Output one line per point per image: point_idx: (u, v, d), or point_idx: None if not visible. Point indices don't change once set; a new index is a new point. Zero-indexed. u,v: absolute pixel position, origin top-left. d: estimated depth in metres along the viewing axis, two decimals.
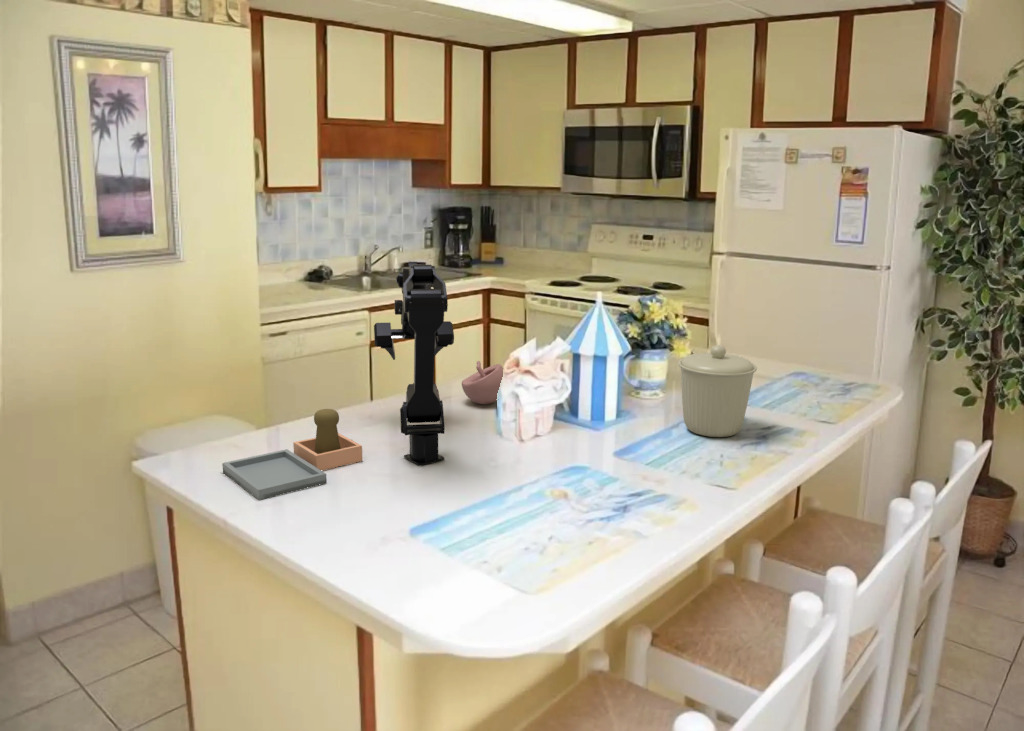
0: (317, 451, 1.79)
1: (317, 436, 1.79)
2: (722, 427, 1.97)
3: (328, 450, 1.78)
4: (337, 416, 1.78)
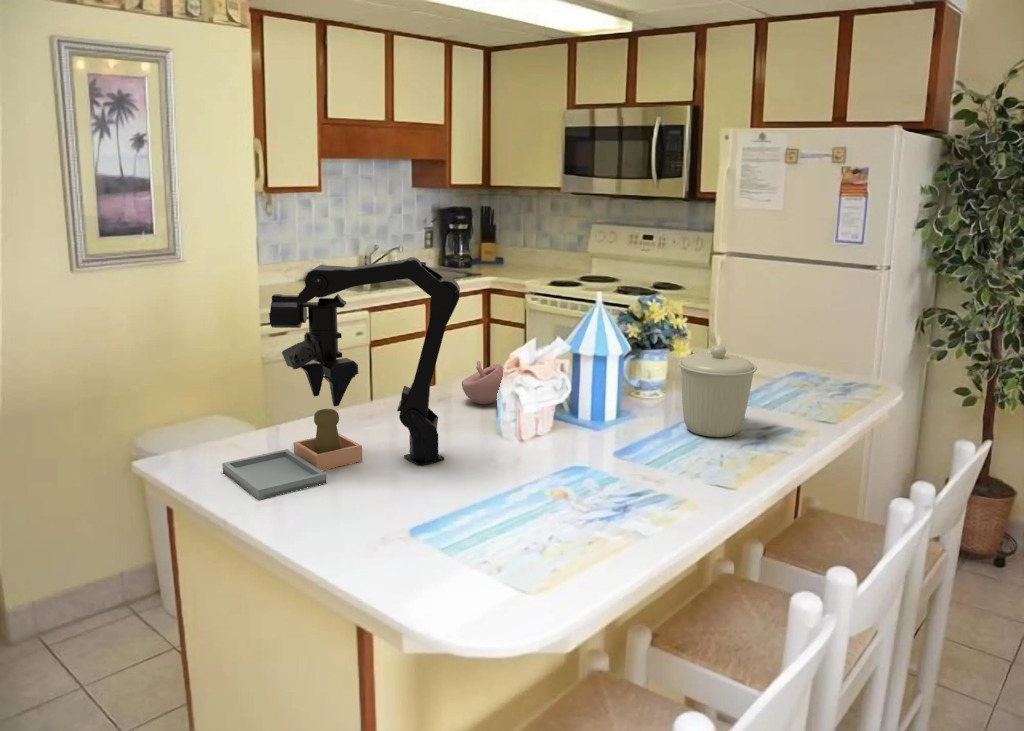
0: (317, 451, 1.79)
1: (317, 436, 1.79)
2: (722, 427, 1.97)
3: (328, 450, 1.78)
4: (337, 416, 1.78)
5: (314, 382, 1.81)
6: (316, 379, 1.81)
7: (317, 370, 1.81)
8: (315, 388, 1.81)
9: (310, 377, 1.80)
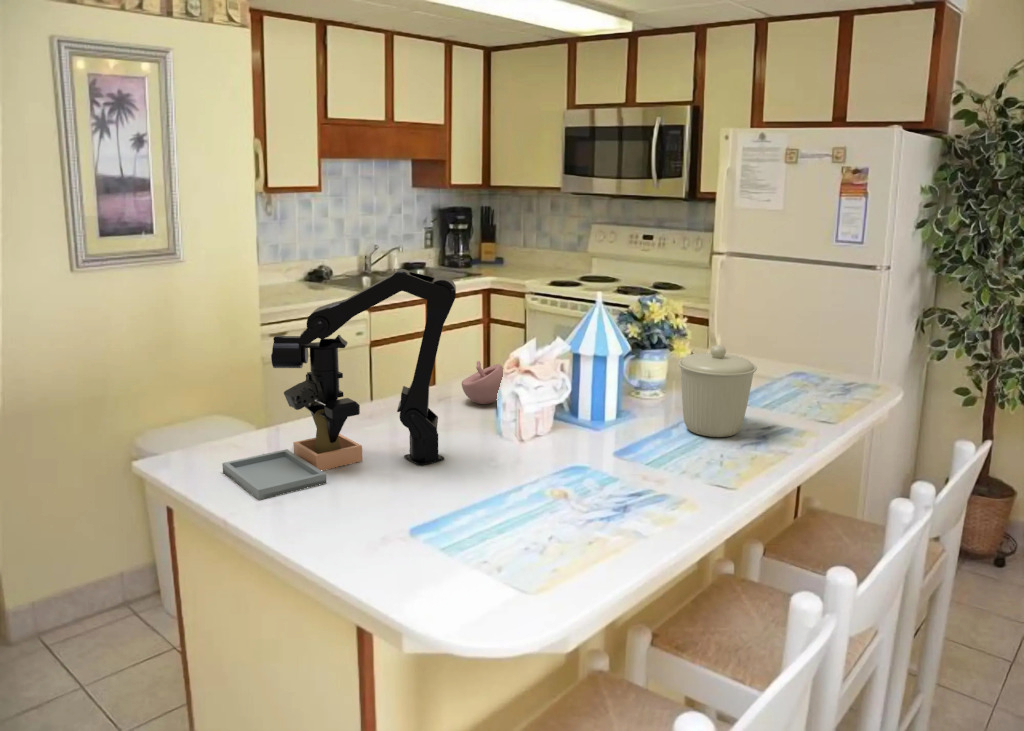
0: (317, 451, 1.79)
1: (317, 436, 1.79)
2: (722, 427, 1.97)
3: (328, 450, 1.78)
4: None
5: None
6: None
7: None
8: None
9: None
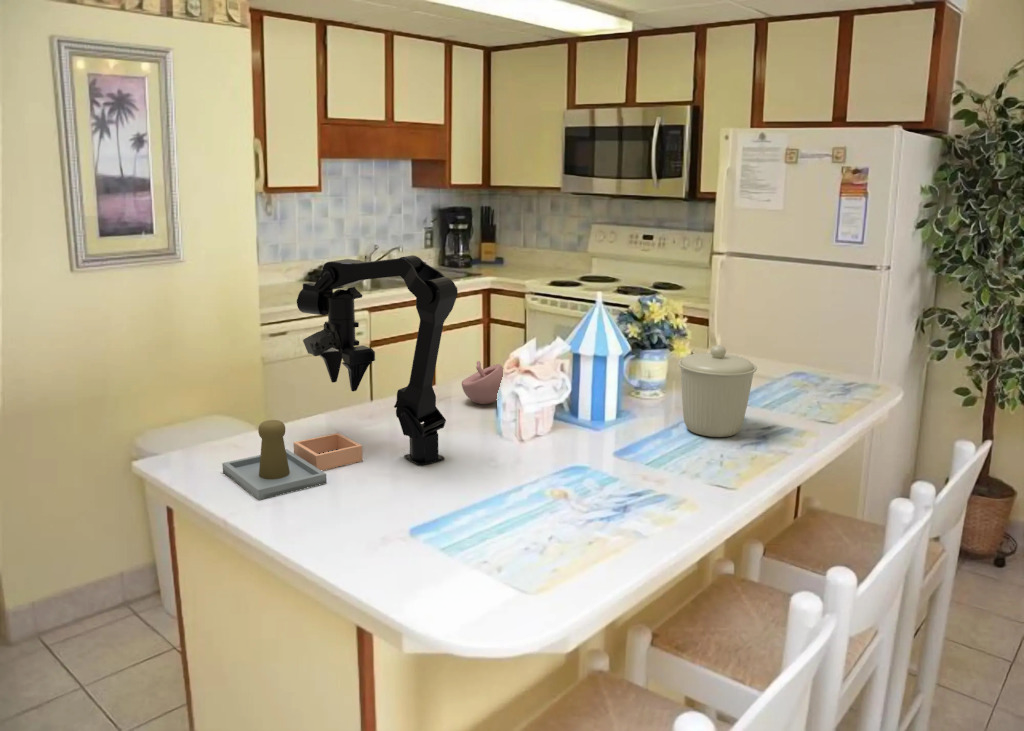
0: (262, 465, 1.68)
1: (261, 449, 1.68)
2: (722, 427, 1.97)
3: (273, 464, 1.67)
4: (283, 428, 1.68)
5: (332, 369, 1.92)
6: (334, 366, 1.92)
7: (335, 358, 1.92)
8: (333, 375, 1.92)
9: (328, 364, 1.91)
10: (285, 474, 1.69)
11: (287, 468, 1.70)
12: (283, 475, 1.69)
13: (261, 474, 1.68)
